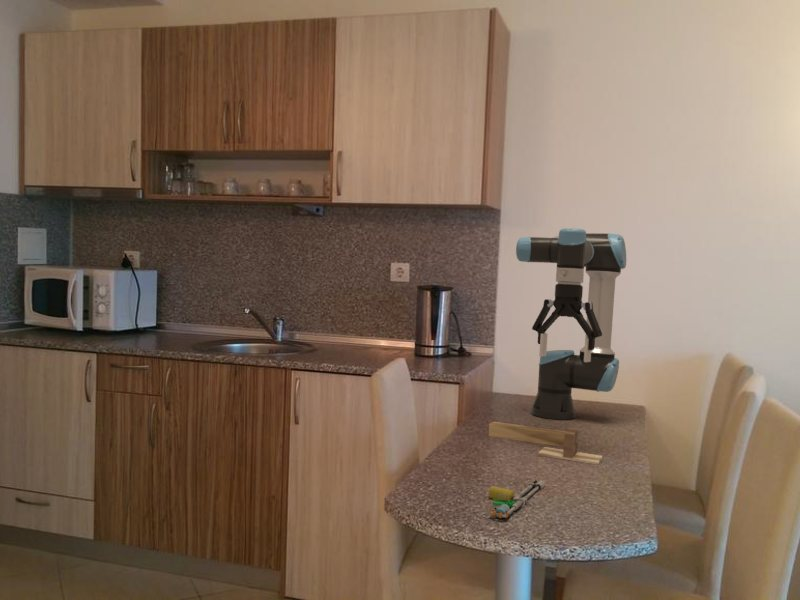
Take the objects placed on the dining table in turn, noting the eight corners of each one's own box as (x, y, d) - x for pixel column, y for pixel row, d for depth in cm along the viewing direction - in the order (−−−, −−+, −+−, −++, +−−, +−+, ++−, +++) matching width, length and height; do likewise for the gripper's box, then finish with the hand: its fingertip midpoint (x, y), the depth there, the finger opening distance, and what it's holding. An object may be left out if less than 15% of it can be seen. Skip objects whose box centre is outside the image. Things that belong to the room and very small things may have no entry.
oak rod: (491, 434, 210) (492, 421, 210) (572, 445, 201) (572, 432, 201) (488, 437, 206) (489, 424, 206) (570, 448, 198) (570, 435, 197)
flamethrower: (467, 514, 137) (516, 527, 132) (469, 501, 137) (517, 513, 132) (510, 481, 163) (552, 491, 159) (511, 470, 163) (553, 480, 158)
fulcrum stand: (544, 449, 194) (545, 424, 194) (602, 457, 188) (604, 432, 187) (537, 455, 187) (539, 429, 187) (598, 464, 180) (600, 438, 180)
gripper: (523, 281, 198) (518, 354, 199) (606, 285, 183) (601, 365, 183) (536, 281, 204) (531, 353, 205) (617, 286, 188) (612, 363, 189)
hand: (564, 359), depth 194 cm, fingers open, 13 cm apart
